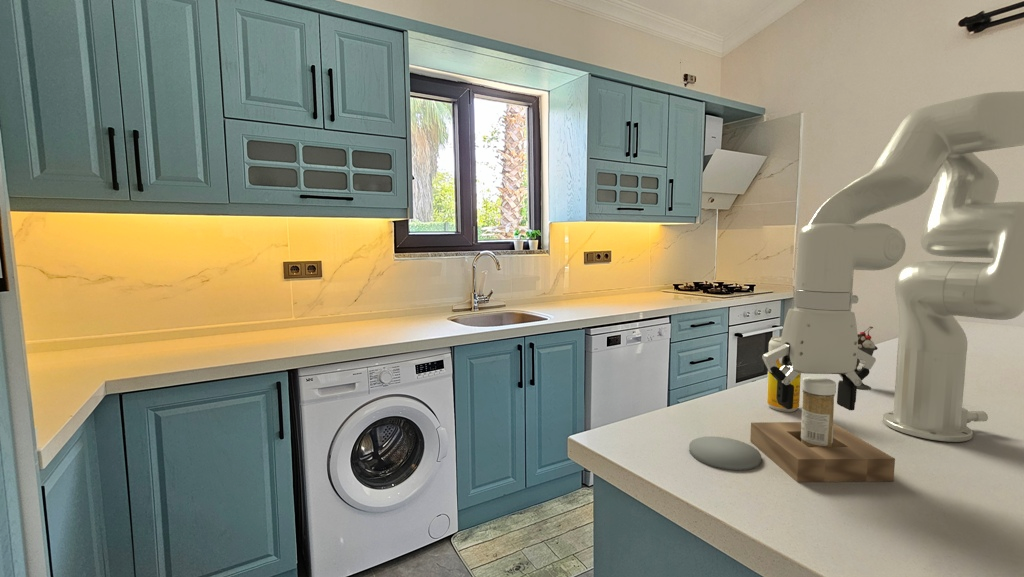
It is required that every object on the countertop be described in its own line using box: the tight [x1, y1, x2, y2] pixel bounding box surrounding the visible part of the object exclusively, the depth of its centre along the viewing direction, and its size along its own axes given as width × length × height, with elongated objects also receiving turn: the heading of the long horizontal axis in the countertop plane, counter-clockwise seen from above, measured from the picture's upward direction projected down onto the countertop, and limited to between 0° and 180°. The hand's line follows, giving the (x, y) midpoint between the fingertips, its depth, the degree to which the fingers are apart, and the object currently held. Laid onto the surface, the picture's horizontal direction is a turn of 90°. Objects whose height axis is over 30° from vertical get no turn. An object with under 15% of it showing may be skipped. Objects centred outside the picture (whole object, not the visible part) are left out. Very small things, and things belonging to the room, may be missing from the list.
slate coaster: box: [688, 435, 762, 471], centre depth 79 cm, size 11×11×1 cm
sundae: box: [856, 326, 878, 390], centre depth 113 cm, size 7×7×15 cm
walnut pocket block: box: [749, 421, 896, 483], centre depth 76 cm, size 14×14×4 cm
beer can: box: [766, 336, 802, 413], centre depth 99 cm, size 6×6×15 cm
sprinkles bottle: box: [800, 376, 837, 447], centre depth 76 cm, size 5×5×14 cm
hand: (815, 407), depth 75 cm, fingers open, 9 cm apart
